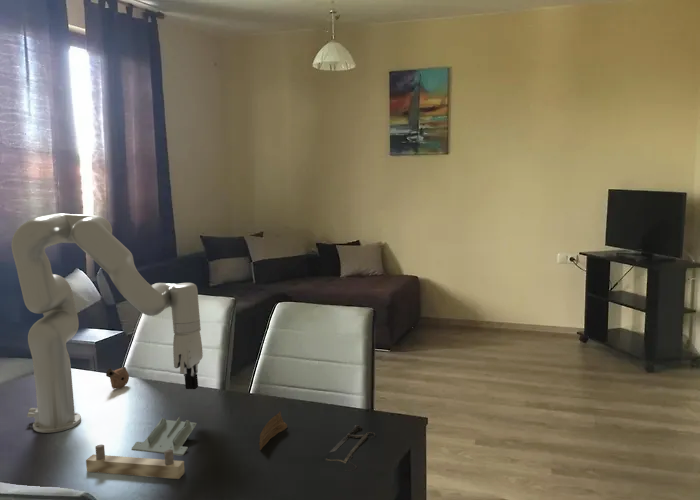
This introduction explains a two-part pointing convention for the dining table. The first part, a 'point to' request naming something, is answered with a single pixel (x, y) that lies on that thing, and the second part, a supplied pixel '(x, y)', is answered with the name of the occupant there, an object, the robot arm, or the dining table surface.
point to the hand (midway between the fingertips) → (191, 388)
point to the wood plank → (272, 429)
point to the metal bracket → (167, 437)
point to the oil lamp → (118, 377)
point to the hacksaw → (363, 438)
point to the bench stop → (135, 465)
